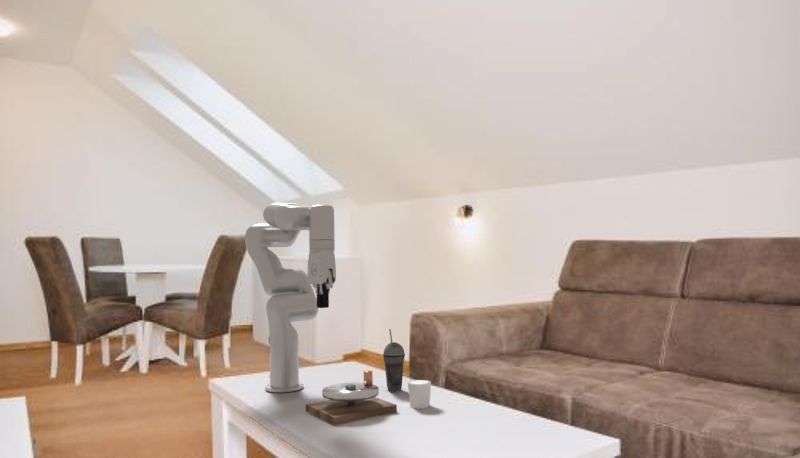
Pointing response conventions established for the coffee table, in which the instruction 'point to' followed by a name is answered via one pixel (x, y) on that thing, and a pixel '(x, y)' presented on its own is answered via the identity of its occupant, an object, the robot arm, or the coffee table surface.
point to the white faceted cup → (419, 393)
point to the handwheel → (352, 390)
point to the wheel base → (350, 410)
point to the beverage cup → (394, 365)
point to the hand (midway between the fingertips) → (322, 307)
